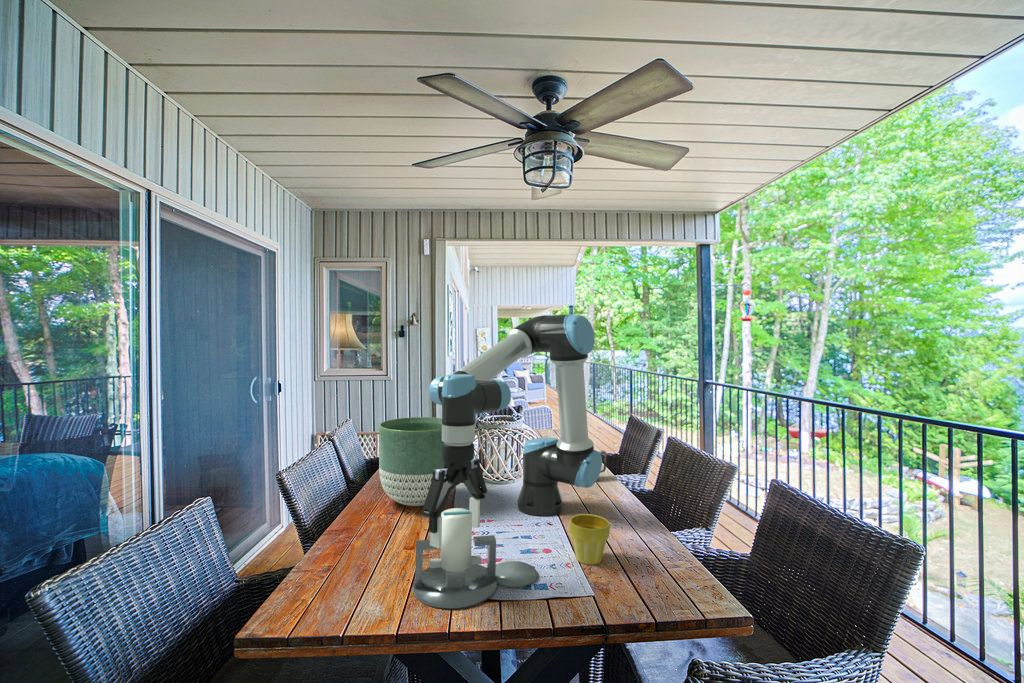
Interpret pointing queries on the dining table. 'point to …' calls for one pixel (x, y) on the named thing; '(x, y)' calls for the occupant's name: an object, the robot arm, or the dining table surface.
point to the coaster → (515, 574)
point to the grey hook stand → (455, 579)
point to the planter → (409, 457)
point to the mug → (604, 460)
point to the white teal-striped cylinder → (456, 541)
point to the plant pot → (589, 537)
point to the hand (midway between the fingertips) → (456, 535)
